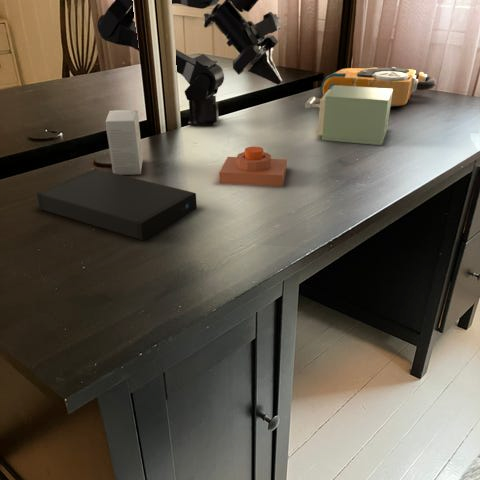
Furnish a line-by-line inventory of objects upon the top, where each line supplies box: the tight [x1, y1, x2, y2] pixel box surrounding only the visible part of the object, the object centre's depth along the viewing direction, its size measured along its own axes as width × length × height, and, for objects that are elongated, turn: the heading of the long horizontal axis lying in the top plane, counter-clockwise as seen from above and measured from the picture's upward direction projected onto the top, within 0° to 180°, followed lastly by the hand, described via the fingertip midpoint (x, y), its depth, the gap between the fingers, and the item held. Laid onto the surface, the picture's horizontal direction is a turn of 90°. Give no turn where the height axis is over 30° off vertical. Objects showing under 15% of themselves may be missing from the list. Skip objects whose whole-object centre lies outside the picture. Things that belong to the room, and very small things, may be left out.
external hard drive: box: [36, 168, 198, 242], centre depth 91 cm, size 14×23×3 cm, turn 58°
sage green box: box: [321, 85, 393, 146], centre depth 123 cm, size 14×12×10 cm
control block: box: [218, 151, 288, 187], centre depth 103 cm, size 12×9×4 cm
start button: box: [244, 146, 265, 160], centre depth 102 cm, size 4×4×2 cm
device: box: [320, 66, 437, 108], centre depth 152 cm, size 23×8×30 cm
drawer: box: [304, 90, 330, 136], centre depth 124 cm, size 16×10×8 cm, turn 72°
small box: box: [104, 109, 144, 176], centre depth 106 cm, size 8×6×10 cm
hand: (280, 83), depth 125 cm, fingers closed
